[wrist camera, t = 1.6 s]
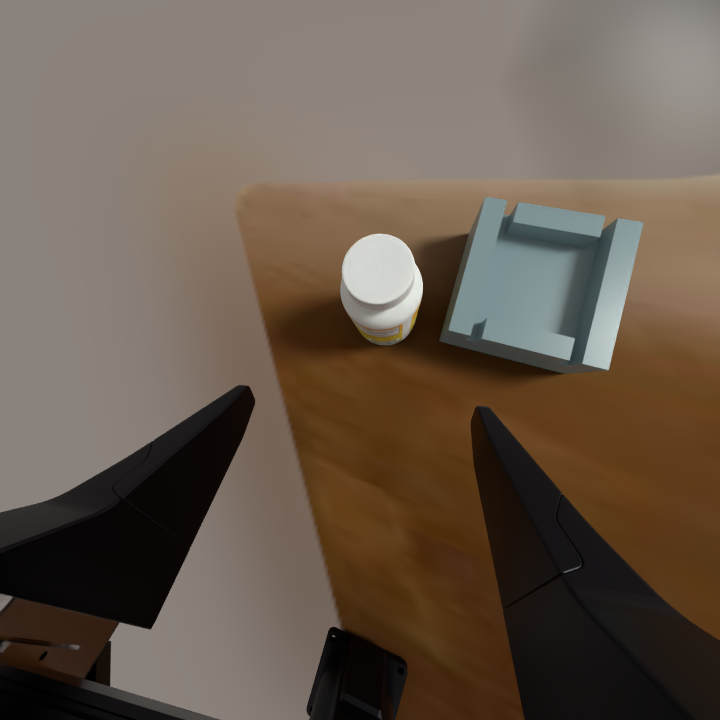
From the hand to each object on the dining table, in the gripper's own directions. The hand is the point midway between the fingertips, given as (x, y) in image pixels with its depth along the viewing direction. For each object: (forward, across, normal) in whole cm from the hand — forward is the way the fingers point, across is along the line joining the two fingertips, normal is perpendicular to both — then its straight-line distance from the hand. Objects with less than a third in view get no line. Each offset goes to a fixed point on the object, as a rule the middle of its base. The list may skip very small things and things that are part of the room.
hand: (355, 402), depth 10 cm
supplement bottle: (+14, 0, +4) cm, 15 cm away
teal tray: (+15, -11, +3) cm, 19 cm away
